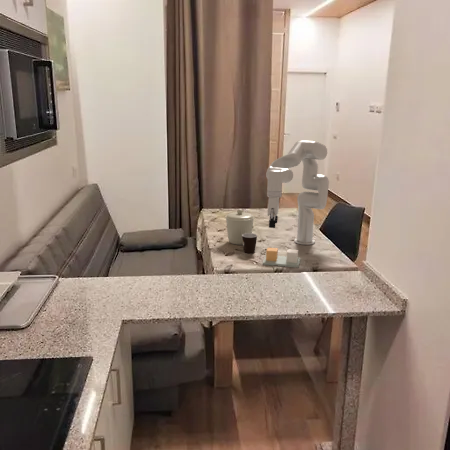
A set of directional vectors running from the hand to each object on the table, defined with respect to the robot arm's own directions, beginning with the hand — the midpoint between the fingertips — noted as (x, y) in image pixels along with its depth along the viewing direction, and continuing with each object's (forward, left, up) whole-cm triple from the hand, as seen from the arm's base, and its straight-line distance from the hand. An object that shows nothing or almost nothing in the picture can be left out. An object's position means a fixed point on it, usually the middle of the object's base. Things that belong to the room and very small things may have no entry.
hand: (273, 225), depth 238 cm
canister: (-29, -24, -20) cm, 42 cm away
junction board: (0, +5, -20) cm, 21 cm away
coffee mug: (-14, -15, -20) cm, 29 cm away
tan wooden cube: (0, 0, -19) cm, 19 cm away
